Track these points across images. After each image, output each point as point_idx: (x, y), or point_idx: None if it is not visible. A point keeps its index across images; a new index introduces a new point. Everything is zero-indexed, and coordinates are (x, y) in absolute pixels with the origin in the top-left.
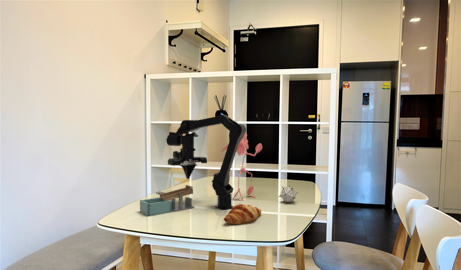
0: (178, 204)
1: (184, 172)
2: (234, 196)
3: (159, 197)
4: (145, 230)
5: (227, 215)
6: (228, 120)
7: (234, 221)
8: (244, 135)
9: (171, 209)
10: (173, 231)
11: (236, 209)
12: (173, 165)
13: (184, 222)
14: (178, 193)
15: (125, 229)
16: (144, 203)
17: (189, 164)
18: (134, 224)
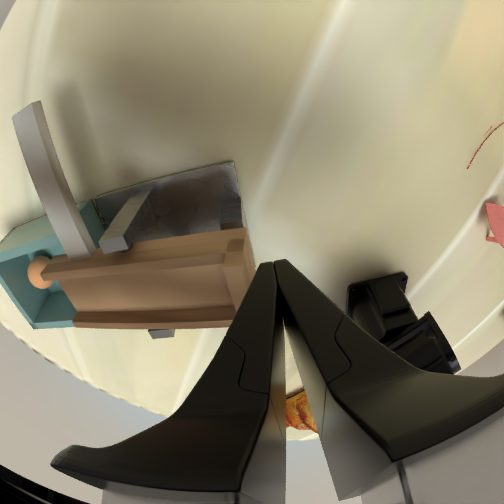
0: (179, 188)
1: (227, 331)
2: (490, 225)
3: (46, 238)
4: (77, 374)
5: None
6: None
7: None
8: None
9: None
10: (138, 398)
11: (304, 427)
12: (50, 489)
13: (168, 375)
14: (147, 325)
15: (36, 352)
16: (14, 298)
17: (349, 491)
18: (40, 337)
